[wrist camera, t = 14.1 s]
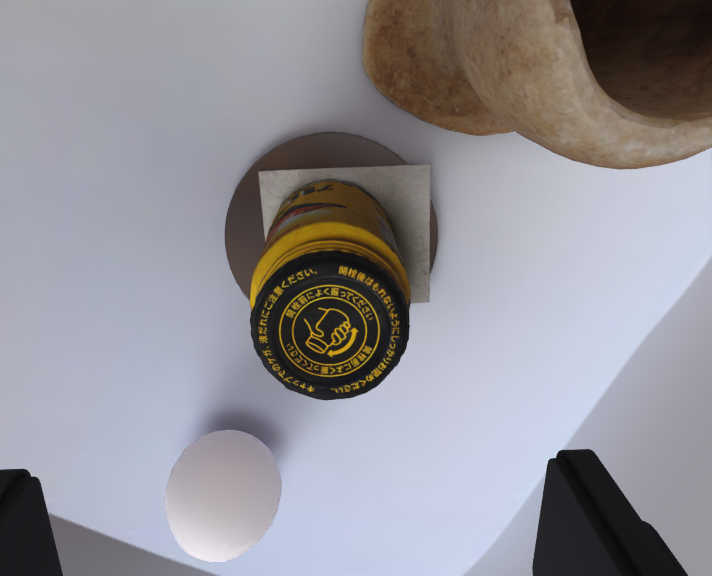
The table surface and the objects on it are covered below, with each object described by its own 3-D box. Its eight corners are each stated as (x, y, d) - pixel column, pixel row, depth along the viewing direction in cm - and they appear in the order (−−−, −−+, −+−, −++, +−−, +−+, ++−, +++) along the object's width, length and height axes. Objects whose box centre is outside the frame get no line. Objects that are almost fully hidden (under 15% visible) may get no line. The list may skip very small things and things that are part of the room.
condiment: (258, 170, 29) (212, 236, 17) (429, 163, 29) (493, 223, 18) (271, 307, 31) (238, 441, 20) (428, 300, 31) (483, 428, 20)
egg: (220, 388, 33) (191, 474, 26) (305, 441, 35) (299, 536, 28) (163, 458, 35) (121, 558, 28) (247, 507, 36) (227, 613, 29)
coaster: (217, 132, 28) (215, 133, 28) (441, 131, 29) (443, 132, 28) (234, 336, 32) (232, 340, 32) (431, 333, 33) (432, 337, 32)
